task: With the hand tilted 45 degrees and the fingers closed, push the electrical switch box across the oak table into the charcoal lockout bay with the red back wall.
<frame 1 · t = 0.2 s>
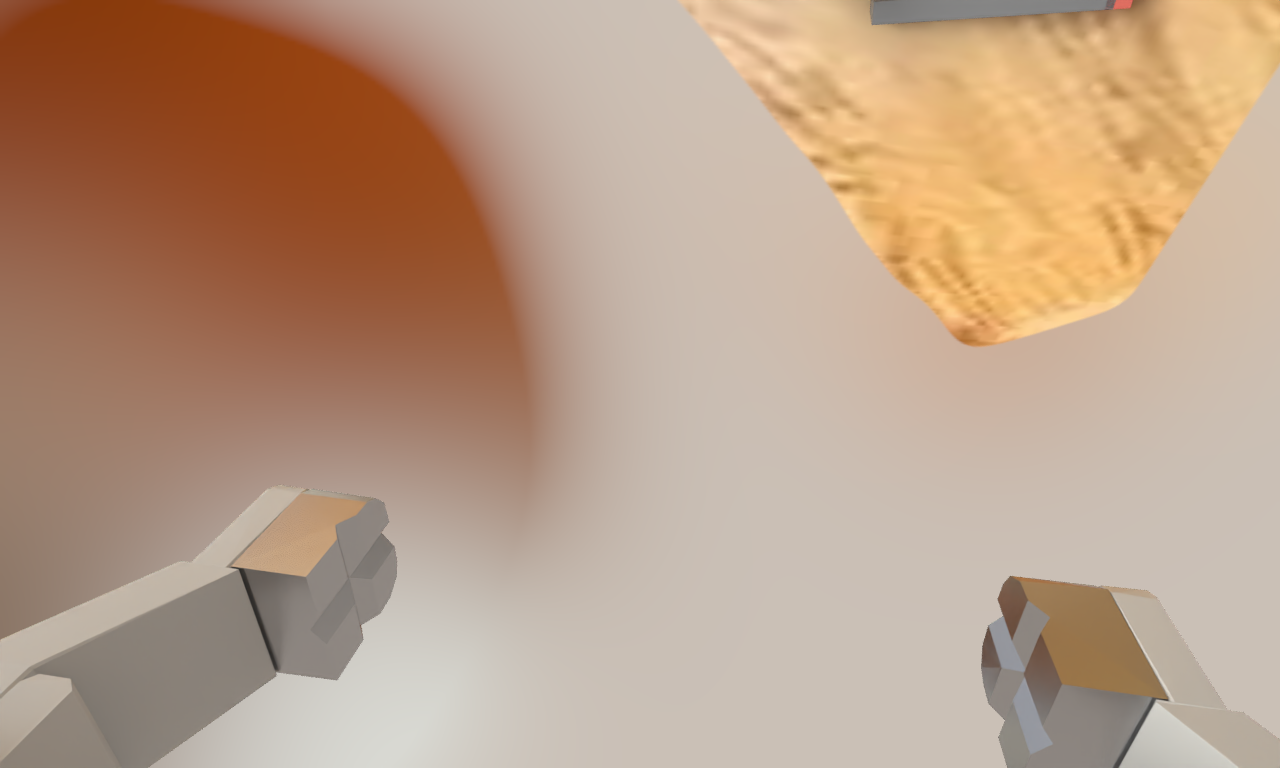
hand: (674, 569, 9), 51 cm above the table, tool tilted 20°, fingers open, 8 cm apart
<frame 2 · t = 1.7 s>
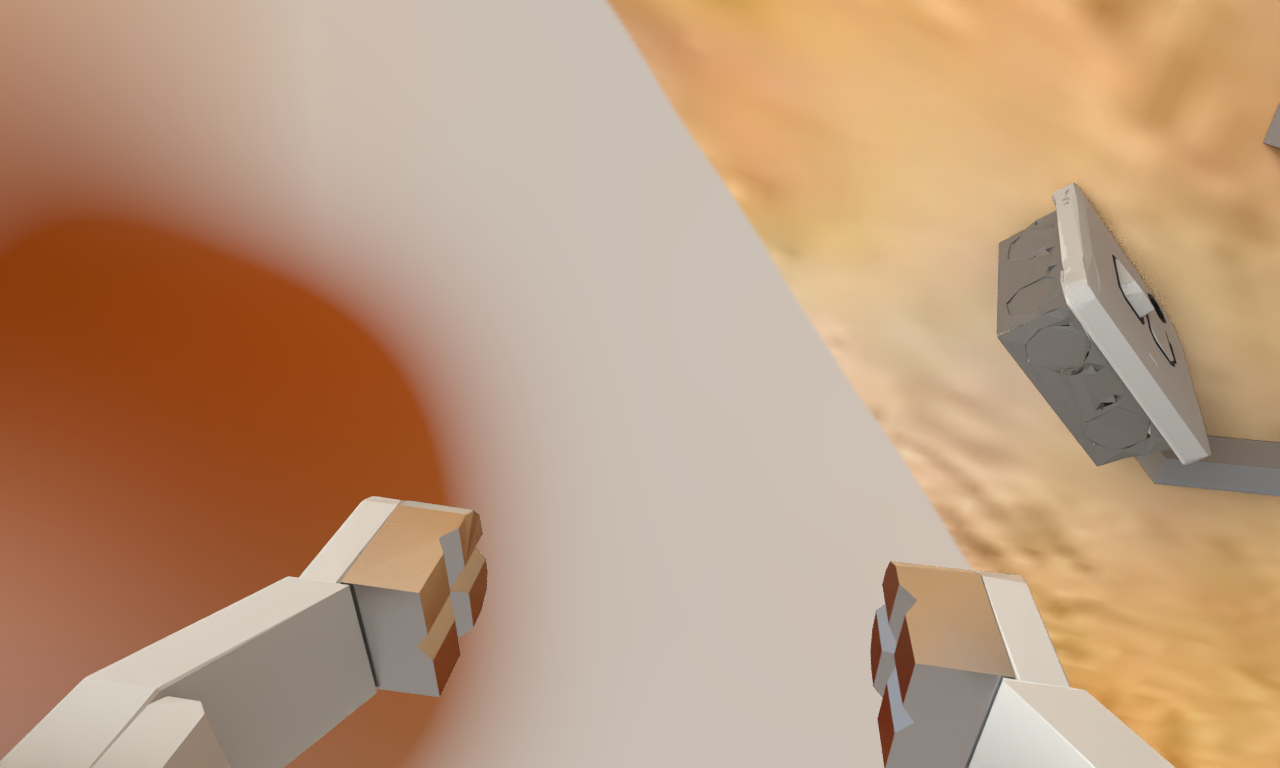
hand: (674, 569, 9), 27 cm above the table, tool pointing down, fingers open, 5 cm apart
electrical switch: (1065, 290, 34), on the table
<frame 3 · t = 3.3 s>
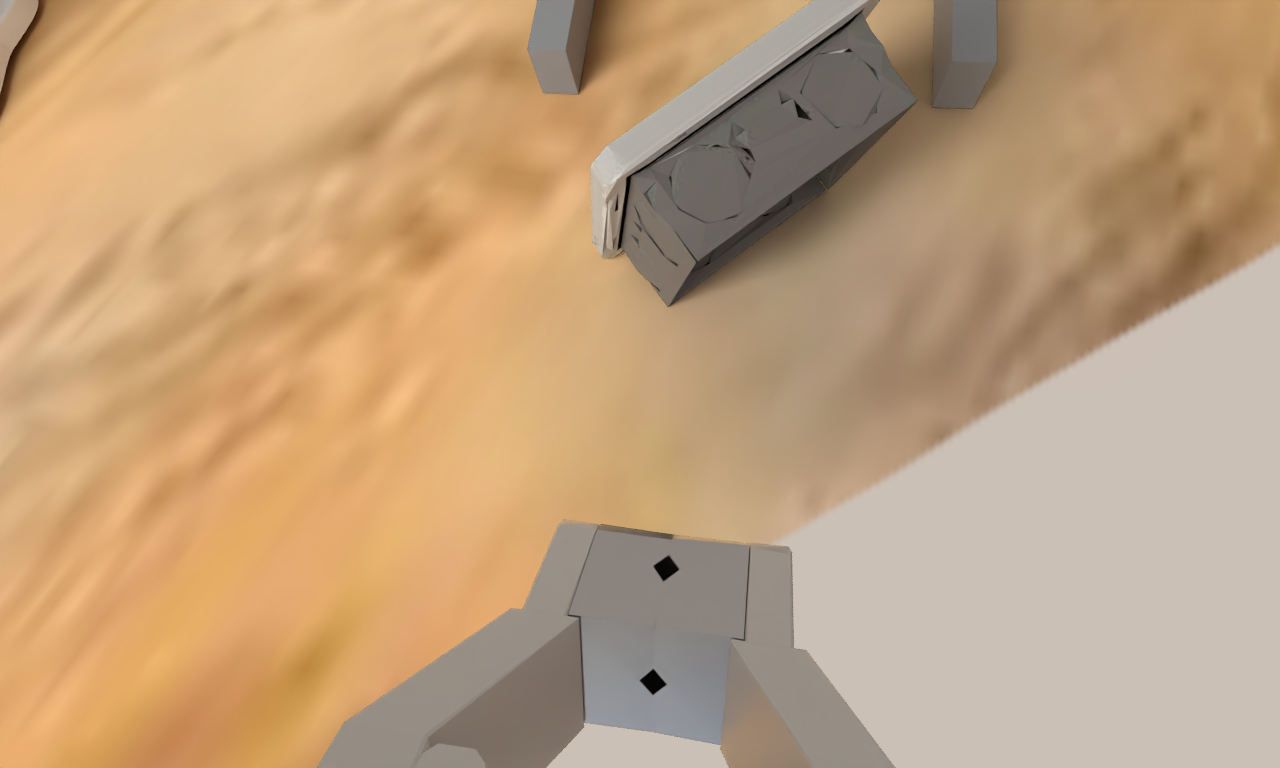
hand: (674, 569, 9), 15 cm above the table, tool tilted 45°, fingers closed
electrical switch: (736, 228, 27), on the table
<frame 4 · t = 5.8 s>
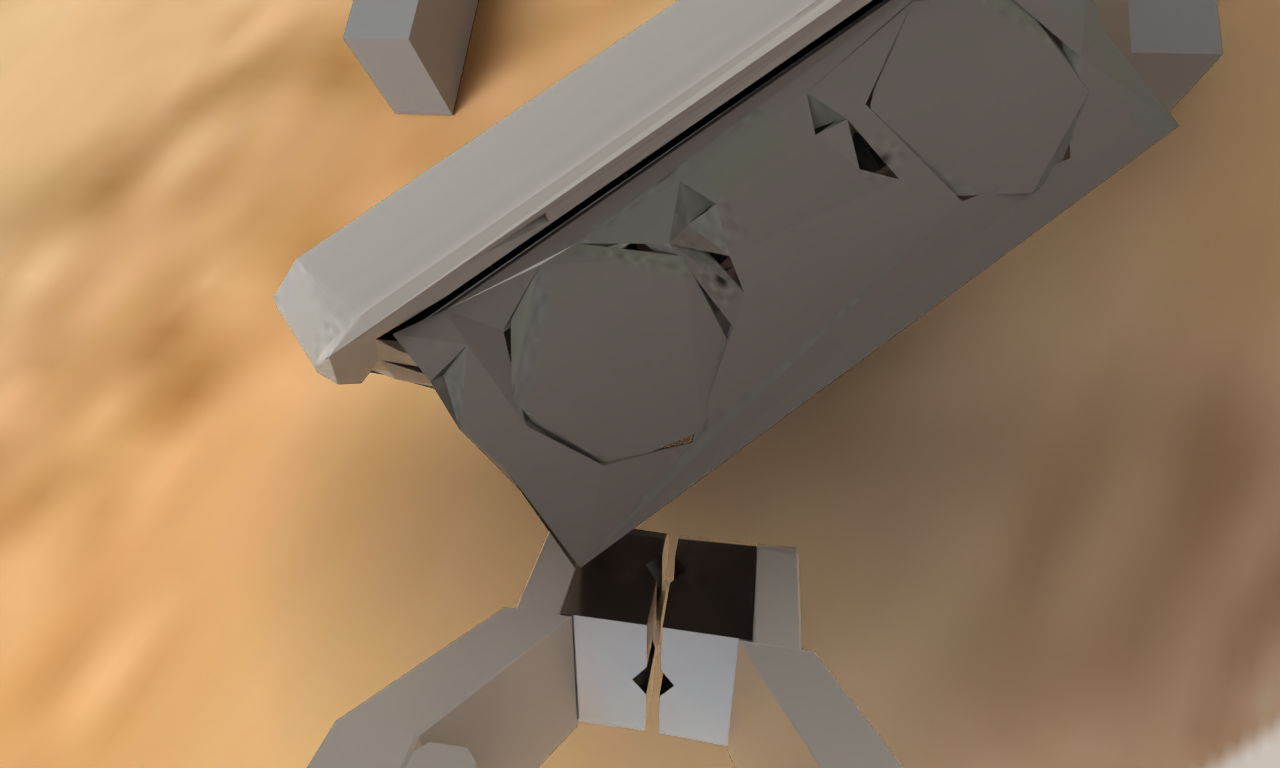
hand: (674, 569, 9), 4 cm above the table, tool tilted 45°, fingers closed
electrical switch: (719, 340, 15), on the table, touching gripper
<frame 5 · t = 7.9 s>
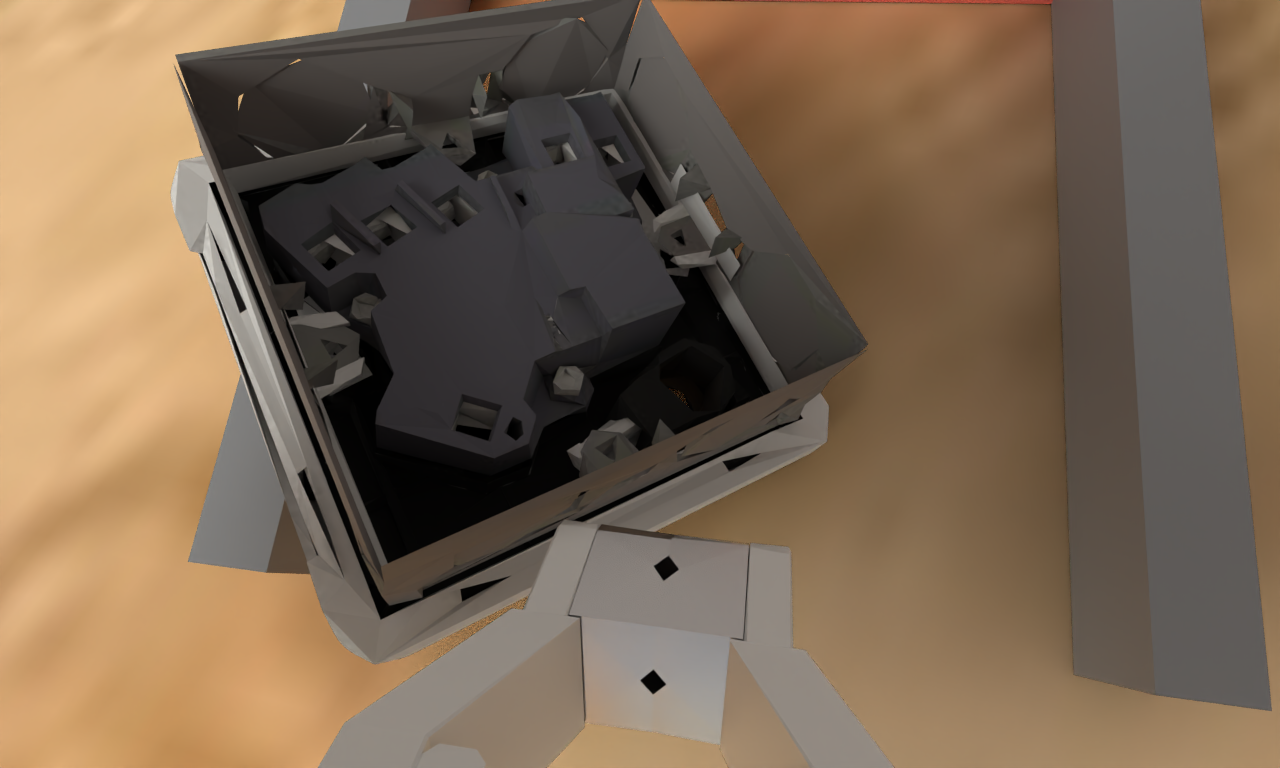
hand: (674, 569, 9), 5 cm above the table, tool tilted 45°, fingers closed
electrical switch: (673, 485, 10), point 4 cm above the table, touching gripper, lockout bay
lockout bay: (717, 262, 16), on the table
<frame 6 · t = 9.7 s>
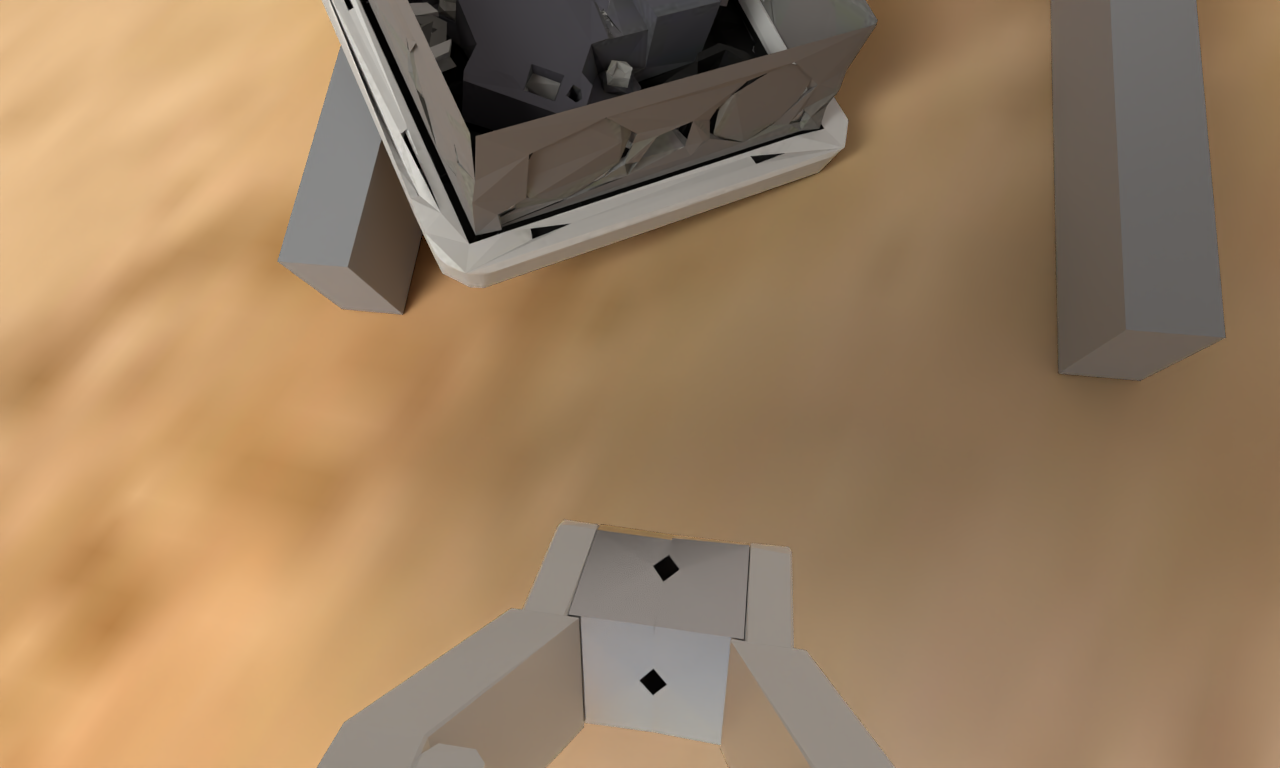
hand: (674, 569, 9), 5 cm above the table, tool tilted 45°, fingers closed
electrical switch: (704, 131, 12), point 4 cm above the table, touching lockout bay
lockout bay: (742, 50, 17), on the table
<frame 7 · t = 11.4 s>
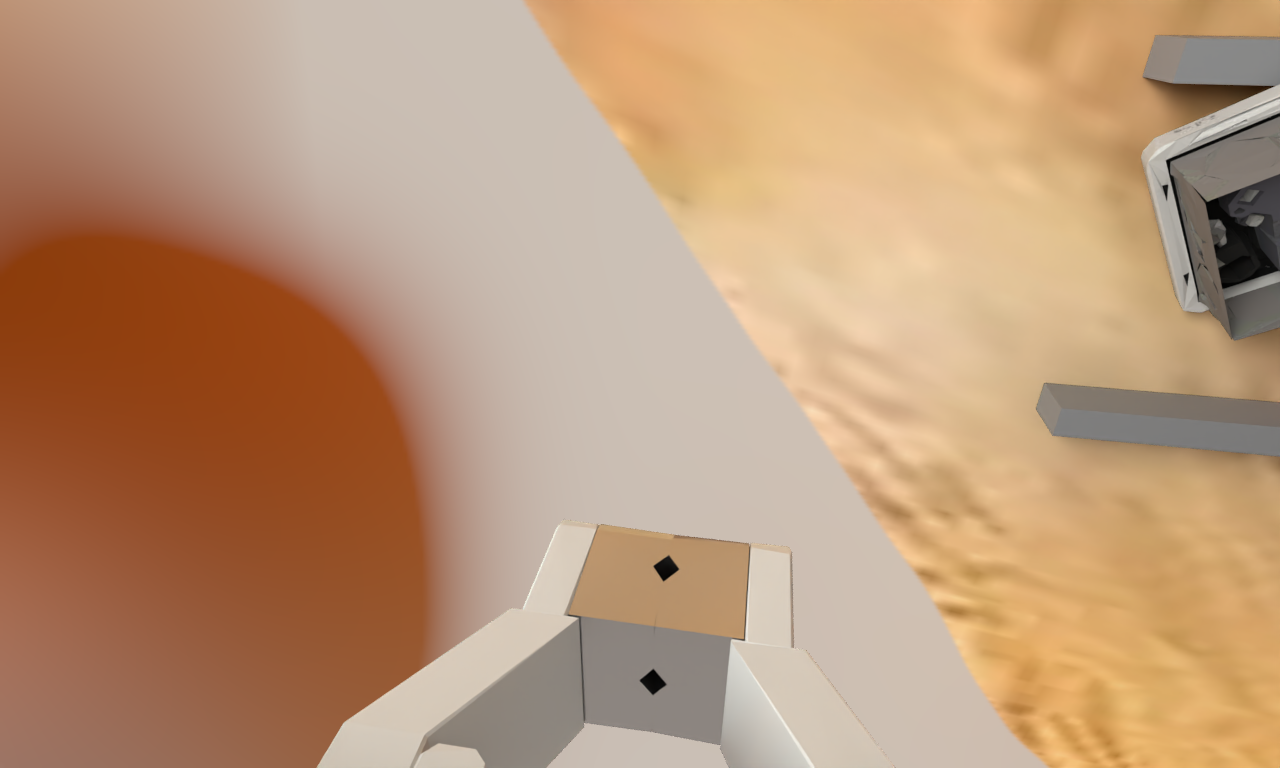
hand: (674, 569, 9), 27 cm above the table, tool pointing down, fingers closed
electrical switch: (1195, 271, 28), point 4 cm above the table, touching lockout bay
lockout bay: (1274, 256, 31), on the table
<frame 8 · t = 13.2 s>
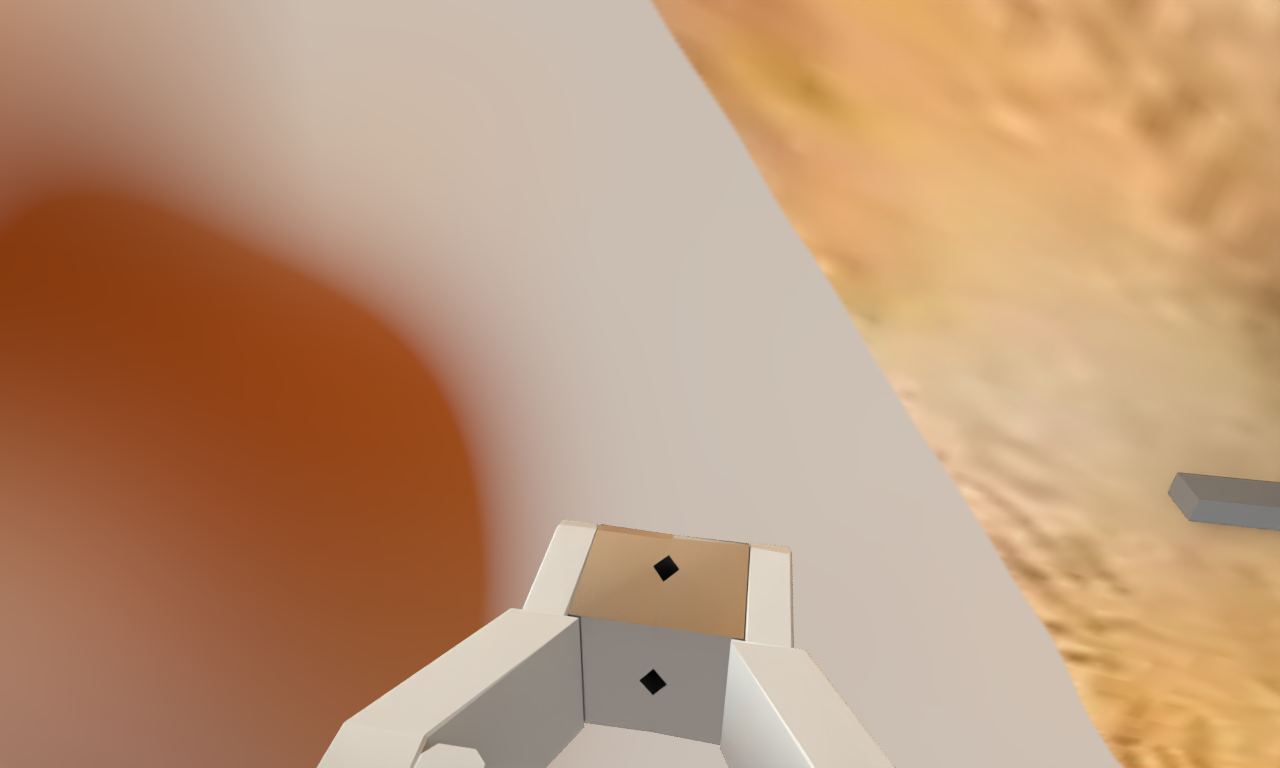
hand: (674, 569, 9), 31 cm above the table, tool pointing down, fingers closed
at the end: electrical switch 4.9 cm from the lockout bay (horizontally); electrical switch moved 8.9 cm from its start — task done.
